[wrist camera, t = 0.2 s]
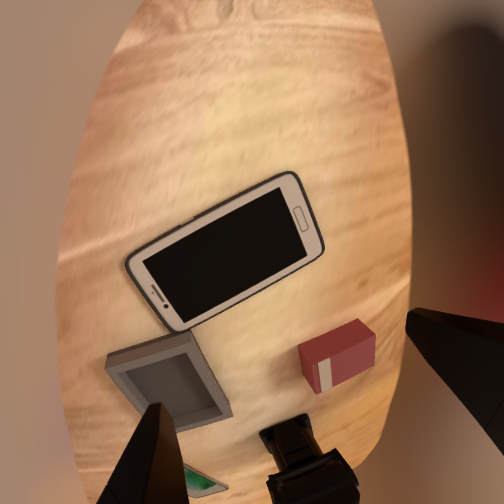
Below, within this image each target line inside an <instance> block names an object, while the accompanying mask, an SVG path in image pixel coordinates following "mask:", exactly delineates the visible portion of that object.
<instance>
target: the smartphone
mask: <svg viewBox="0 0 504 504" xmlns="http://www.w3.org/2000/svg"><path fill="white" fill-rule="evenodd" d="M183 465H184V472H185V479H186V486H187V492H188V496H190V497H193V498H200V497H204V496H208V495H211V494H215V493H218V492H221V491H225V490H227V489H229V486H228V485H226V484H224V483H222V482H219V481H217V480H215V479H213V478H211V477H209V476H207V475H205V474H203V473H201V472H199V471H197V470H195V469H193V468H192V467H190V466H188V465H186V464H184V463H183Z"/></svg>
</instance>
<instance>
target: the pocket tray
mask: <svg viewBox="0 0 504 504" xmlns="http://www.w3.org/2000/svg"><path fill="white" fill-rule="evenodd" d="M104 369H105V371H106V372H107V373H108V375H109V376H110V377H111V379H112V380H113V381H114V383H115V384H116V385H117V386H118V388H119V389H120V390H121V392H122V393H123V394H124V395H125V396H126V398H127V399H128V400H129V401H130V403H131V404H132V405H133V406H134V407H135V408H136V410H137V411H138V412H139V413H140V414H141V415H142V416H143V415H144V413H145V411H146V409H147V407H148V405H149V404H151V403H156V402H162V403H163V404H164V406H165V407H166V409H167V410H168V412H169V413H170V415H171V417H172V419H173V422H174V426H175V430H176V433H179V432H182V431H186V430H190V429H194V428H197V427H201V426H204V425H208V424H211V423H214V422H218V421H221V420H224V419H227V418H230V417H233V413H232V410H231V407H230V403H229V401H228V399H227V397H226V396H225V394H224V392H223V390H222V389H221V387H220V385H219V383H218V381H217V380H216V378H215V376H214V374H213V372H212V370H211V368H210V367H209V365H208V363H207V361H206V359H205V357H204V355H203V353H202V351H201V349H200V347H199V345H198V343H197V341H196V339H195V337H194V335H193V333H192V331H191V329H189V330H187V331H185V332H182V333H178V334H175V333H171V334H168V335H165V336H162V337H159V338H156V339H153V340H150V341H147V342H144V343H141V344H138V345H135V346H132V347H129V348H125V349H122V350H119V351H116V352H113V353H109V354H108V355H107V359H106V364H105V368H104Z"/></svg>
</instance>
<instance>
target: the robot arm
mask: <svg viewBox="0 0 504 504" xmlns="http://www.w3.org/2000/svg"><path fill="white" fill-rule="evenodd" d="M405 331H406V333H407V335H408V337H409V338H410V339H411V341H412V342H413V343H414V345H415V346H416V347H417V349H418V350H419V352H420V353H421V354H422V356H423V357H424V359H425V360H426V361H427V363H428V364H429V365H430V366H431V367H432V368H433V369H434V371H435V372H436V373H437V374H438V375H439V376H440V377H441V379H442V380H443V381H444V382H445V383H446V384H447V386H449V388H450V389H451V390H452V391H453V393H454V394H455V395H456V396H457V397H458V399H459V400H460V401H461V402H462V403H463V405H464V406H465V407H466V408H467V409H468V411H469V412H470V413H471V414H472V415H473V417H474V418H475V419H476V420H477V422H478V423H479V424H480V425H481V427H482V428H483V429H484V431H485V432H486V433H487V434H488V436H489V437H490V438H491V440H492V441H493V442H494V444H495V445H496V446H497V447H498V449H499V450H500V452H501V453H502V454H503V456H504V323H500V322H494V321H488V320H482V319H477V318H472V317H466V316H460V315H455V314H449V313H444V312H439V311H434V310H428V309H423V308H418V307H417V308H414V309H412V310H410V311H409V312H408V313H407V318H406V327H405ZM259 435H260V437H261V439H262V441H263V443H264V444H265V446H266V448H267V450H268V451H269V453H270V454H272V455H273V458H274V460H275V462H276V465H277V467H278V469H279V473H276V474H273V475H272V474H271V475H268V477H269V480H268V481H266V484H267V487H268V489H269V492H270V495H271V499H272V503H273V504H359V501H360V493H359V491H358V489H357V488H356V487H358V486H359V483H358V480H357V478H356V476H355V474H354V472H353V470H352V469H351V467H350V466H349V465H348V463H347V462H346V461H345V459H344V458H343V457H342V456H341V454H340V453H339V452H338V450H337V449H336V448H334V449H332V451H330V452H327V453H325V454H323V452H322V451H321V449H320V447H319V445H318V444H317V442H316V440H315V438H314V435H313V431H312V427H311V423H310V419H309V416H308V414H303V415H301V416H298V417H296V418H294V419H291V420H289V421H286V422H284V423H282V424H279V425H276V426H274V427H271V428H269V429H266V430H263V431H261V432H260V433H259ZM107 484H108V485H106V486H105V488H104V490H103V492H102V494H101V496H100V497H99V499H98V501H97V503H96V504H189V499H188V492H187V486H186V479H185V472H184V465H183V459H182V455H181V451H180V447H179V443H178V439H177V435H176V430H175V426H174V422H173V419H172V417H171V415H170V413H169V412H168V410H167V409H166V407H165V406H164V404H163V403H162V402H156V403H151V404H149V405H148V407H147V409H146V411H145V413H144V415H143V416H142V418H141V420H140V422H139V424H138V426H137V428H136V429H135V431H134V433H133V435H132V437H131V439H130V441H129V443H128V444H127V446H126V448H125V450H124V452H123V454H122V456H121V458H120V460H119V461H118V463H117V465H116V467H115V469H114V471H113V473H112V475H111V477H110V479H109V481H108V482H107Z"/></svg>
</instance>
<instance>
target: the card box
mask: <svg viewBox="0 0 504 504" xmlns="http://www.w3.org/2000/svg"><path fill="white" fill-rule="evenodd" d="M375 340H376V334H375V333H374V332H372V331H371V330H370V329H369V328H368V327H367V326H366V325H365V324H364V323H362V322H361V321H360V320H359V319H358V318H357V319H355V320H353V321H351V322H349V323H347V324H345V325H343V326H340V327H338V328H336V329H334V330H332V331H329V332H327V333H325V334H323V335H320V336H318V337H316V338H313V339H311V340H309V341H306V342H304V343H301V344H299V345H298V350H299V355H300V360H301V366H302V371H303V375H304V377H305V378H306V380H307V381H308V383H309V384H310V386H311V388H312V389H313V391H314V392H315V394H318V393H320V392H324V391H327V390H329V389H331V388H332V387H333V386H335V385H337V384H340V383H342V382H344V381H346V380H348V379H350V378H351V377H353V376H355V375H357V374H359V373H361V372H363V371H365V370H367V369H368V368H370V367H372V366H374V362H375Z"/></svg>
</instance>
